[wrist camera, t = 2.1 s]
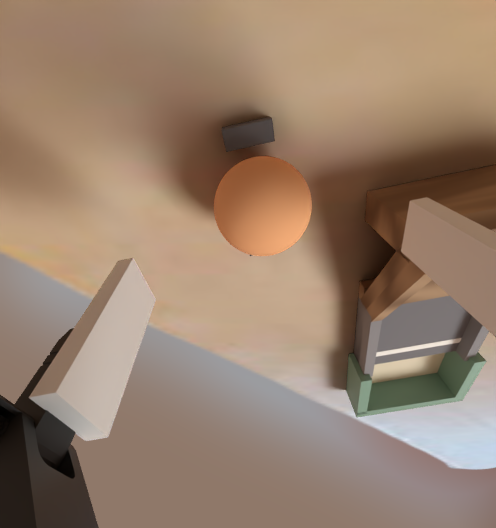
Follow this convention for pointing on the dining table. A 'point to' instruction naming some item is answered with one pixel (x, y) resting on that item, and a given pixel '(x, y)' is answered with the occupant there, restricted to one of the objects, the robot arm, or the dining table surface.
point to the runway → (416, 333)
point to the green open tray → (411, 382)
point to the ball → (262, 206)
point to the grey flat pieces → (248, 134)
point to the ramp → (393, 226)
